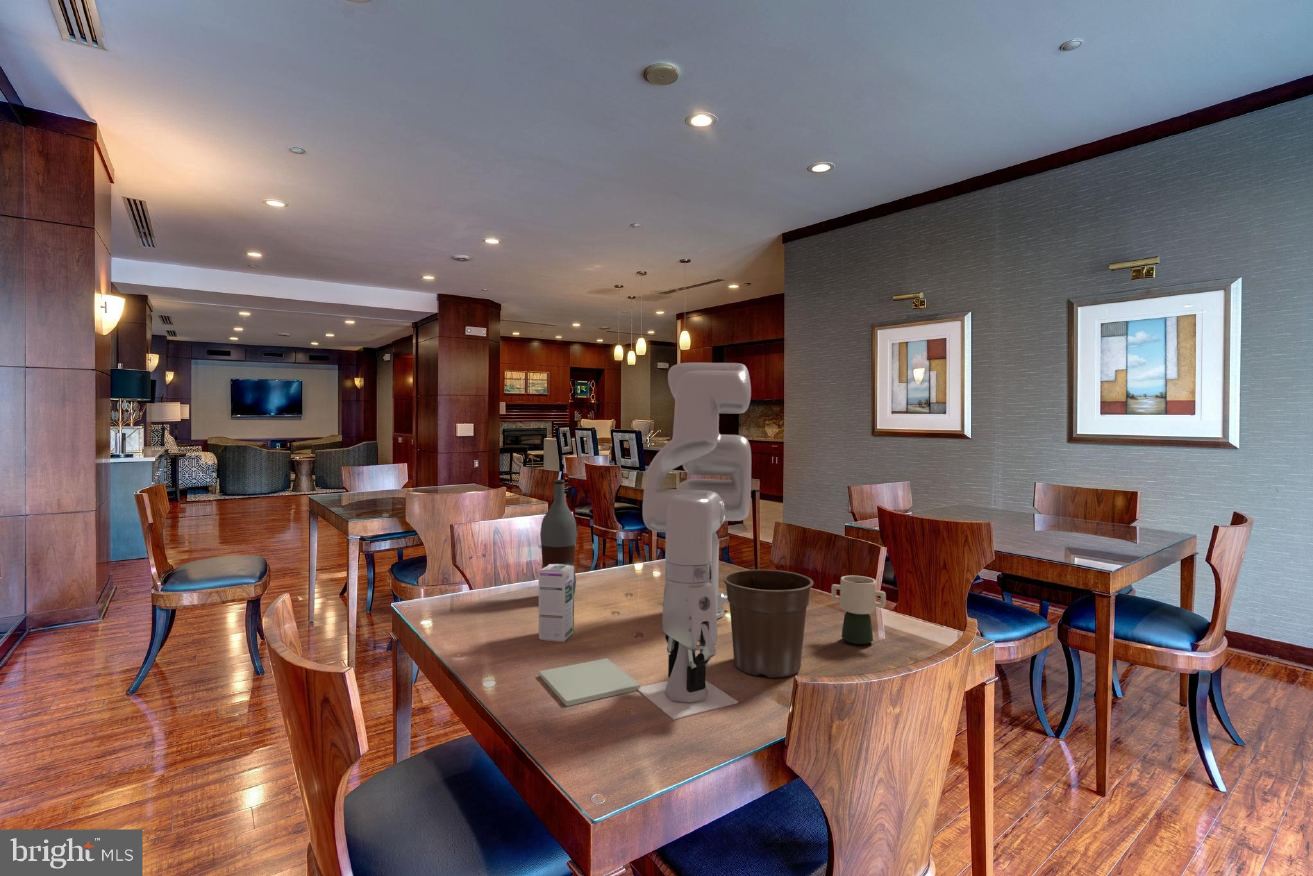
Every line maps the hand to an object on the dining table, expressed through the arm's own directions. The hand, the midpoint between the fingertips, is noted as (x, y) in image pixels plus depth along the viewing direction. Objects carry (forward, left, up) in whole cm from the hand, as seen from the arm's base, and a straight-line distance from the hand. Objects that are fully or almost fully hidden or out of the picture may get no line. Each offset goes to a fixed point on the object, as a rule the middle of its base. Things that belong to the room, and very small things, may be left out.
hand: (686, 682), depth 98 cm
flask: (0, 0, -2) cm, 2 cm away
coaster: (+12, -12, -2) cm, 17 cm away
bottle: (-1, -62, -2) cm, 62 cm away
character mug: (-45, -5, -2) cm, 45 cm away
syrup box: (+9, -36, -2) cm, 37 cm away
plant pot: (-20, -4, -3) cm, 21 cm away
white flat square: (0, 0, -2) cm, 2 cm away
